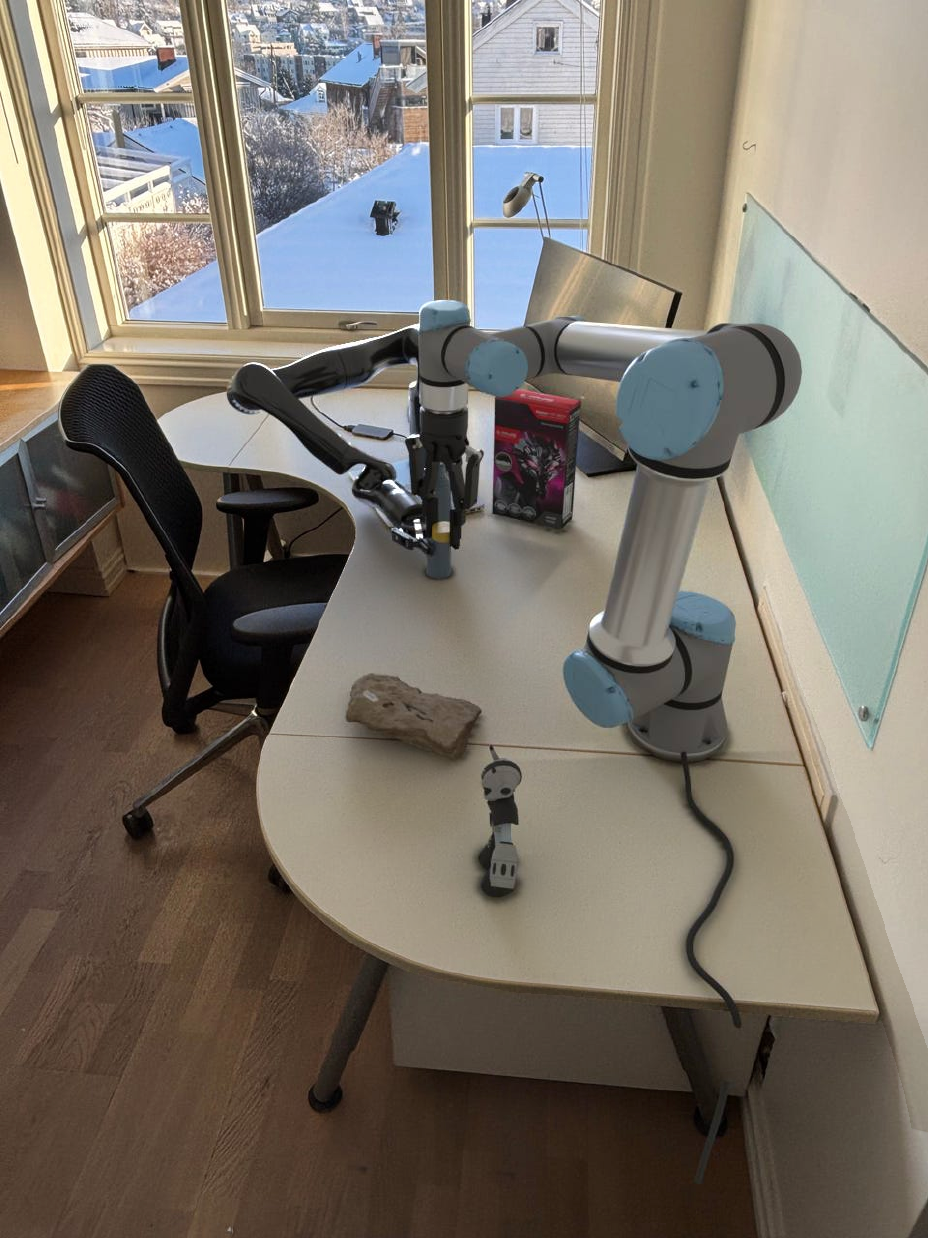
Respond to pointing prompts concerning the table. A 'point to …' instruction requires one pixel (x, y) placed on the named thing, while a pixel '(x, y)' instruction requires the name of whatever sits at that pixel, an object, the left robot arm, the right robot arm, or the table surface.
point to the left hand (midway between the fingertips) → (445, 548)
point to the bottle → (441, 560)
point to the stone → (412, 714)
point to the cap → (441, 532)
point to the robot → (500, 825)
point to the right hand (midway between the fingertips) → (443, 537)
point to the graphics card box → (535, 457)
